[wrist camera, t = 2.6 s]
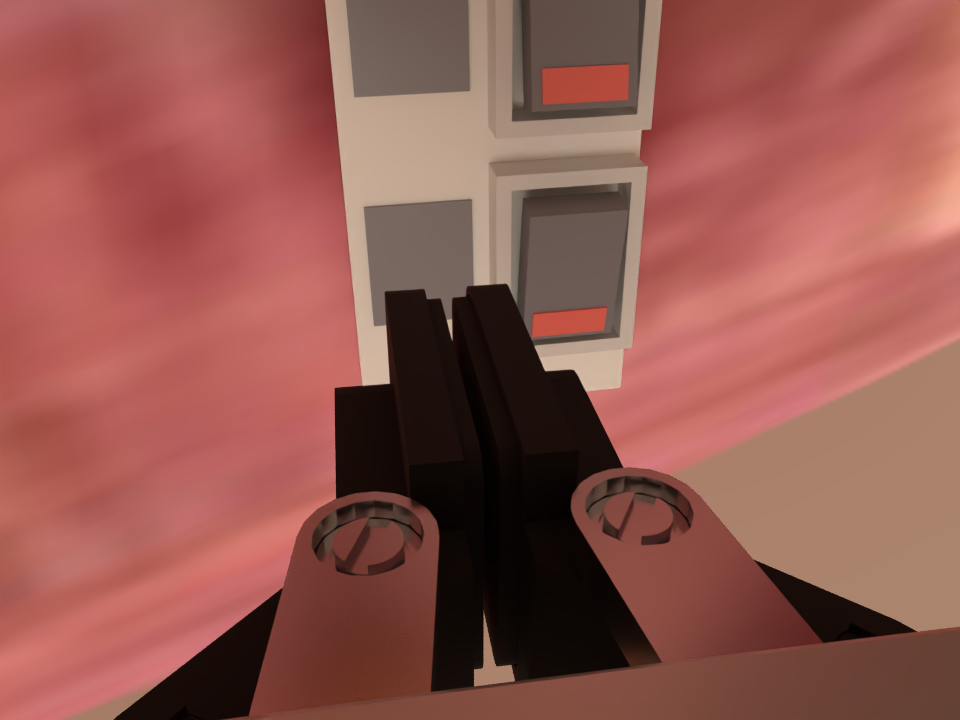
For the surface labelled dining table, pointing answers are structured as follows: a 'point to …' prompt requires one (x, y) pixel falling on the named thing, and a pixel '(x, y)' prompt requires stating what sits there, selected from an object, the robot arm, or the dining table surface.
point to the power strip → (470, 163)
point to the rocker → (570, 263)
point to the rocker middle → (579, 54)
